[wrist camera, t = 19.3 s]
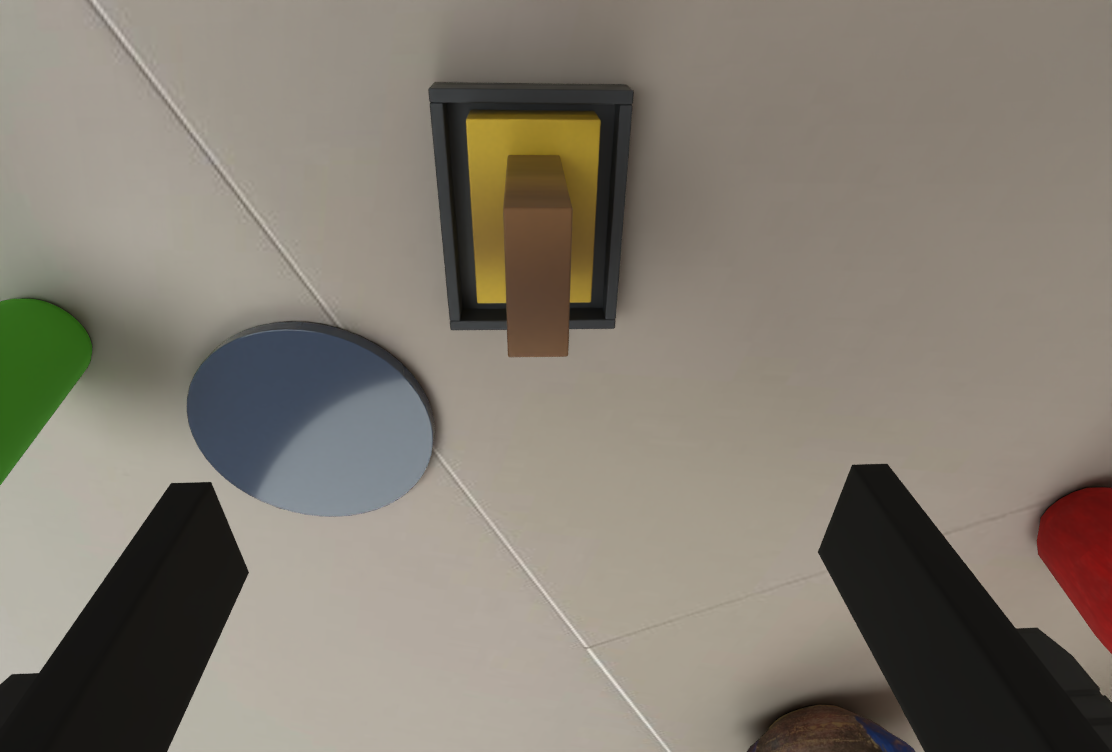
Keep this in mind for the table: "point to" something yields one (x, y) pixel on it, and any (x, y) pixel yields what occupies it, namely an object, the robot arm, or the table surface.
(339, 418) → the plate
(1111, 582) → the apple
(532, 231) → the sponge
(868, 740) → the bowl
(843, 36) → the table surface
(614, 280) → the dish
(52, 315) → the cup
